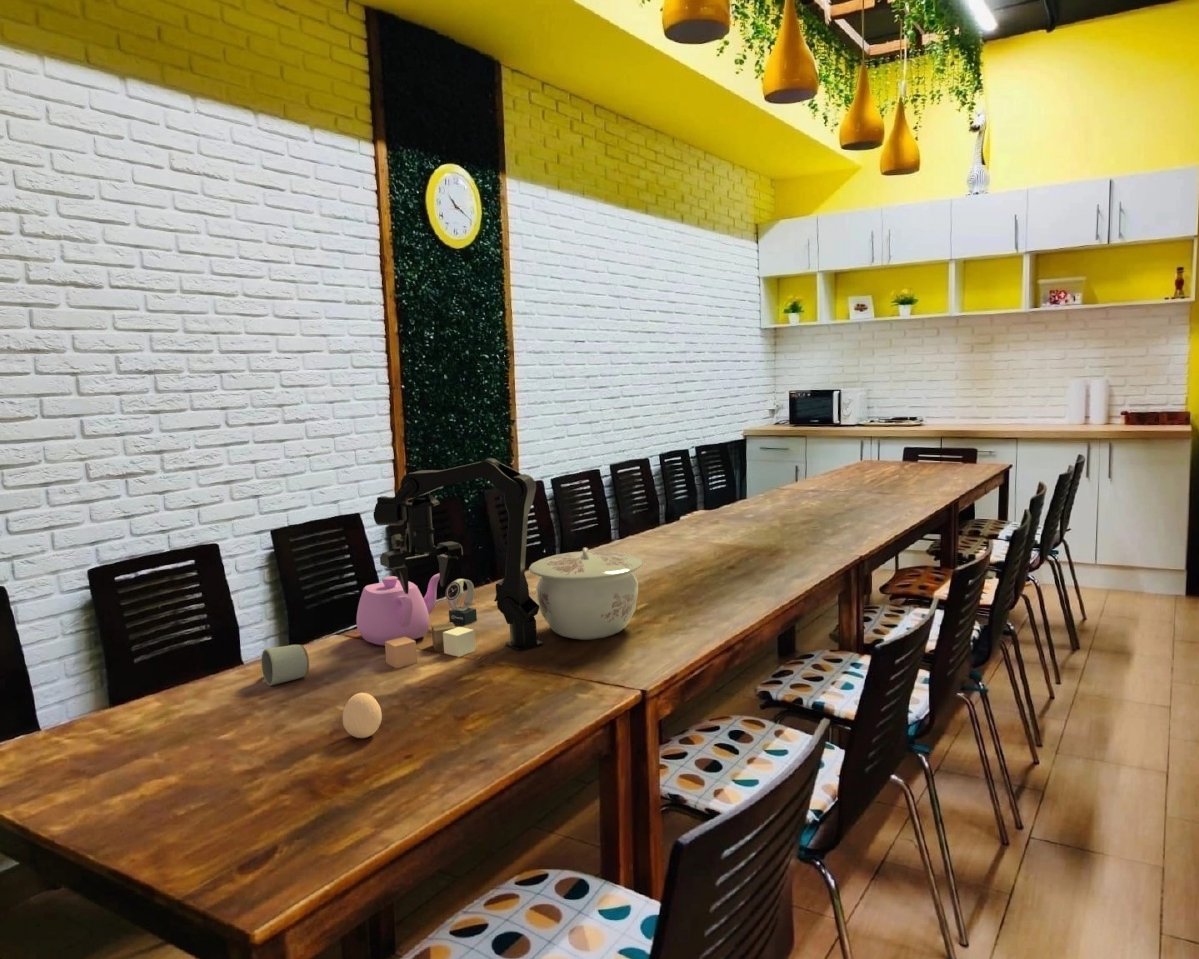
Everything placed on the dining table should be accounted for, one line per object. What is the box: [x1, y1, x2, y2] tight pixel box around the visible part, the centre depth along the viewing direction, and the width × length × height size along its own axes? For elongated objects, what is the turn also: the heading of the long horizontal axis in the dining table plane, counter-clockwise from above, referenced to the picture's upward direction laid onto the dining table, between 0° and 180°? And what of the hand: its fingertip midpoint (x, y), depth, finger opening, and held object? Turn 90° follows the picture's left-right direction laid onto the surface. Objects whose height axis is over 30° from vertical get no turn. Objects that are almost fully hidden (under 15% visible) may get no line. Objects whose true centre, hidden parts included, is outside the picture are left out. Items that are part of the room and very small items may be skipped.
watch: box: [445, 578, 478, 626], centre depth 221 cm, size 6×8×11 cm
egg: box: [342, 692, 383, 739], centre depth 152 cm, size 7×7×8 cm
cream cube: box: [443, 626, 476, 658], centre depth 197 cm, size 5×5×5 cm
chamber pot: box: [528, 547, 644, 641], centre depth 207 cm, size 28×28×21 cm
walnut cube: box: [430, 622, 457, 652], centre depth 201 cm, size 5×5×5 cm
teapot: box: [356, 572, 440, 647], centre depth 210 cm, size 23×21×15 cm
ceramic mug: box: [260, 644, 310, 686], centre depth 184 cm, size 11×8×8 cm
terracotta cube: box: [384, 637, 418, 669], centre depth 191 cm, size 5×5×5 cm
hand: (424, 589), depth 204 cm, fingers open, 9 cm apart
